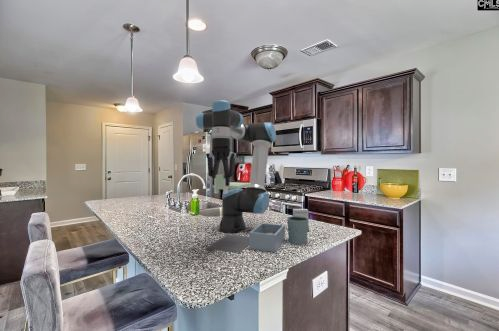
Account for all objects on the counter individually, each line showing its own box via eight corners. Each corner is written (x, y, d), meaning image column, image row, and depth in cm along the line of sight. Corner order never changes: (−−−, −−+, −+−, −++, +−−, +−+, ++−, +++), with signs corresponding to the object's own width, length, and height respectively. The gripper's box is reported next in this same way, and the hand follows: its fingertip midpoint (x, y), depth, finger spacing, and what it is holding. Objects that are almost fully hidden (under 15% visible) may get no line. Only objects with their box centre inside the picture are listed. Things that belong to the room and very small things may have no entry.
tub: (249, 250, 110) (249, 232, 109) (261, 238, 126) (261, 223, 126) (275, 254, 105) (275, 235, 105) (284, 241, 122) (284, 225, 122)
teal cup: (295, 247, 113) (295, 221, 113) (282, 241, 122) (282, 217, 122) (312, 244, 118) (312, 219, 118) (299, 238, 127) (299, 215, 127)
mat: (206, 250, 110) (206, 247, 110) (227, 236, 131) (227, 234, 131) (239, 254, 105) (239, 252, 105) (256, 239, 125) (256, 237, 125)
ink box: (307, 228, 145) (307, 208, 145) (308, 231, 141) (308, 210, 140) (292, 228, 146) (292, 208, 146) (293, 230, 141) (293, 209, 141)
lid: (206, 190, 106) (206, 174, 106) (229, 185, 128) (229, 172, 128) (232, 191, 102) (232, 175, 102) (251, 186, 124) (251, 172, 123)
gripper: (199, 137, 105) (199, 193, 105) (235, 136, 99) (235, 195, 99) (208, 139, 112) (208, 191, 112) (242, 138, 106) (242, 193, 106)
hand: (221, 193), depth 105 cm, fingers closed on lid, 3 cm apart
